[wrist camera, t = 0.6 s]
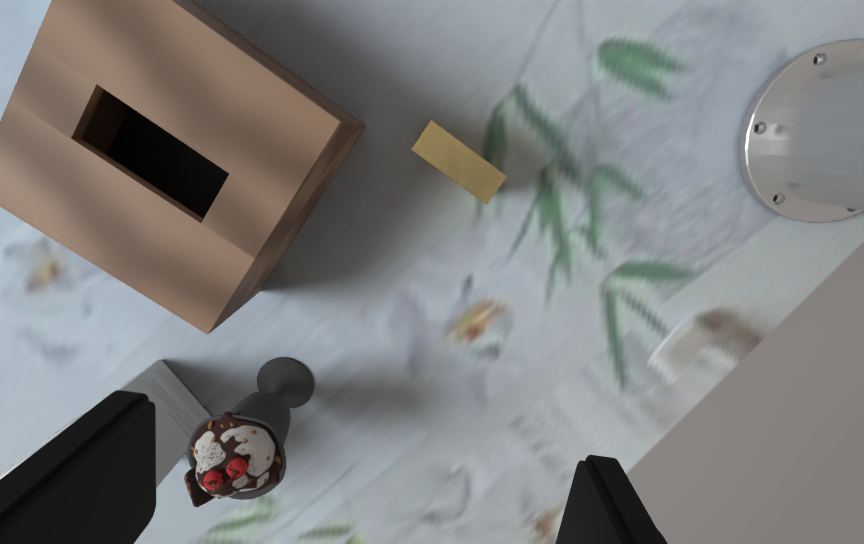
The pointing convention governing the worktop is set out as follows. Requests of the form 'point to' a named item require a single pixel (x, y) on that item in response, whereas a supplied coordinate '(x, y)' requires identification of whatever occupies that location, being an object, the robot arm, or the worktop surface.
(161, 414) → the supplement box
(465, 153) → the tan rectangular block
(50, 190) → the brown slotted wooden box
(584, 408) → the worktop surface
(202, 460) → the sundae
